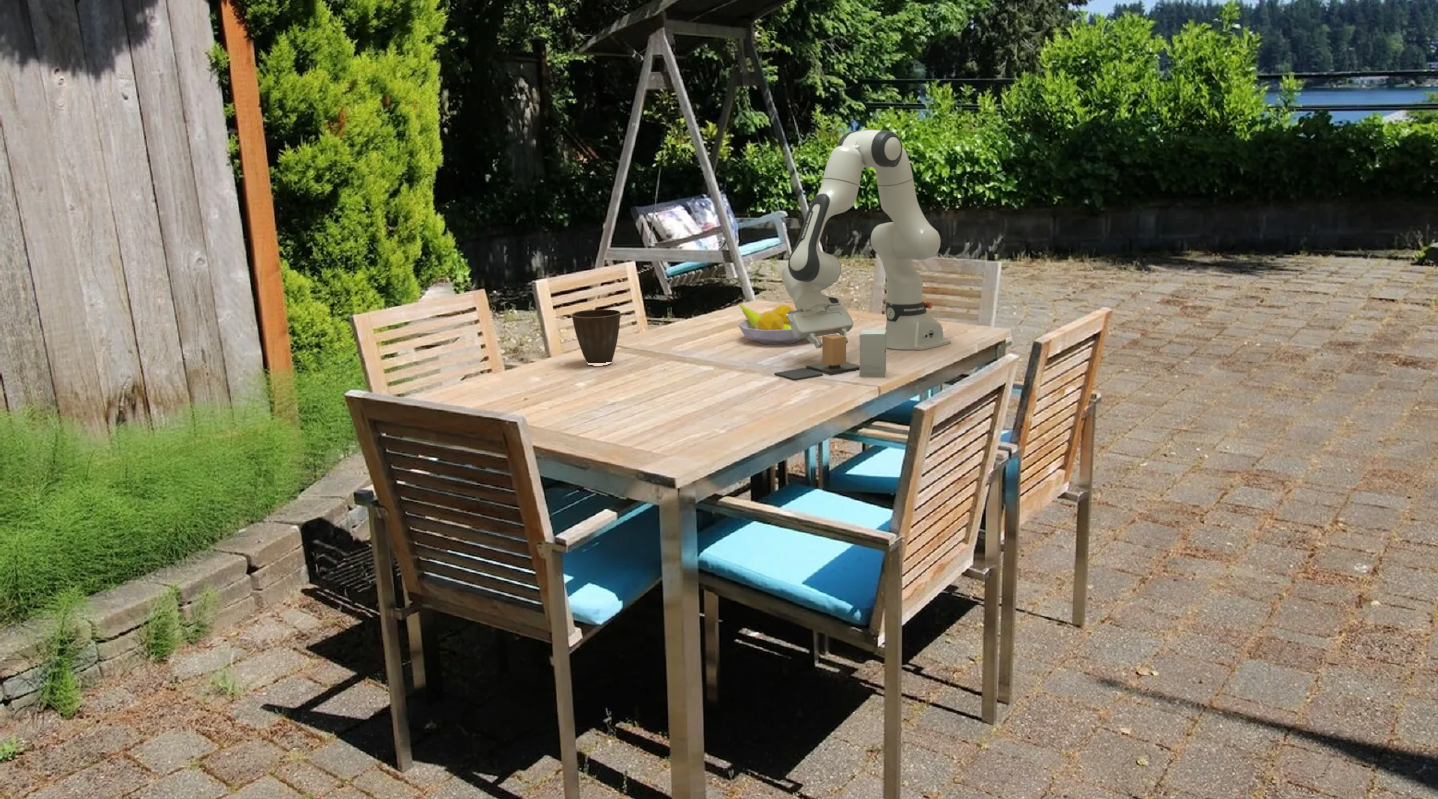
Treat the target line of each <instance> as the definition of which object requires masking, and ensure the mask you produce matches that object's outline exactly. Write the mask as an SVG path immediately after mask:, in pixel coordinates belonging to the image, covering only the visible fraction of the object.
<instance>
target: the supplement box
mask: <svg viewBox="0 0 1438 799" xmlns="http://www.w3.org/2000/svg"><path fill="white" fill-rule="evenodd" d="M859 365H860V370H859V378H885V376H886V372H887V348H886V330H885V329H861V330H860V333H859Z"/></svg>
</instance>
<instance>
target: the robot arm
mask: <svg viewBox="0 0 1438 799" xmlns="http://www.w3.org/2000/svg"><path fill="white" fill-rule="evenodd" d="M911 166H912V165H911V162H910V159H909V157H908V154H907V151H906V149H905V148H904V147H903V143H902V140H901V138H900V137H899V135H898V134H897V133H895V132H894V131H891V130H885V129H884V130H879V129H866V130H860V131H855V130H854V131H849V132H847V133H844V134H843V135H842V136H841V137H840V139H839V140H838V143H837V146H836V147H835V148H833V150H832V151H831V153H830V155H829V158H828V161H827V163H826V167H825V169H824V171H823V172H824V173H823V176H822V180H821V185H820V187H819V190H818V192H817V194H816V196H814V197H813V198H812V200H811V202H810V204H809V207H808V209H807V212H806V214H805V218H804V221H803V224H802V227H801V230H800V233H799V236H798V240H797V242H796V243H795V246H794V247H793V249H792V251H791V252H790V254H789V257H788V262H787V263H786V264H785V265H784V266H783V267H782V270H781V280H782V282H783V286H784V288H785V290H786V292H787V294H788V296H789V297H790V298H791V299H792V301H793V304H794V307H795V309H794V310H795V311H789V312H788V313H787V316H786V317H787V319H788V321H789V322H790V326H791V329H792V332H793V334H794V336H795V337H796V338H797V339H801V340H802V339H807V341H809V342H810V343H811V344H813V345H814V347H815V348H816V349H822V346H823V344H822V339H821V340H820V339H818V338H816V337H822V336H827V335H834V334H838V335H841V336H846V345H847V344H848V343H849V339H848V337H847V336H848V335H847V334H848V332H850V331H851V329H852V328H853V326H854V320H853V318H852V316H851V314H850V313H849V311H848V310H847V309H846V308H845V306H843V305H842V301H841V299H840V298H839V297H834V296H829V295H825V294H823V293H822V291H824V290H825V289H828V288H829V287H831V286H832V285H834V284H835V283H836V282H837V281H838V280H839V278H840V276H841V273H842V272H841V271H842V266H841V262H840V260H839V259H838V258H837V256H835V255H832V254H829V253H826V252H824V251H820V250H819V244H820V241H821V238H822V234H823V231H824V228H825V226H826V223H827V222H828V220H829V219H830V218H831V217H834V216H835V215H839V214H842V213H846V212H847V211H848V210H850V209H851V208H852V207H853V206H854V204H855V202H856V200H857V197H858V195H859V194H858V193H859V189H860V184H861V179H862V178H861V177H862V172H863V170H864V169H866V168H868V169H869V168H874V170H875V175H876V176H875V178H876V185H877V190H878V196H879V197H878V198H879V201H880V206H881V210H883V212H884V213H885V214H886V215H887V216H888V217H889V218H890V219H891V221H890V222H889V221H888V222H884V223H880V224H877V225H876V226H875V227H874V228H873V230H872V232H871V234H870V245H871V248H872V249H873V251H874V252H875V253H876V254H877V256H878V257H879V259H880V261H881V263H882V265H883V270H884V272H885V277H886V292H887V293H886V302H885V316H886V320H885V321H886V323H885V329H884V330H886V349H892V350H917V351H918V350H919V351H922V350H923V351H924V350H929V349H932V348H937V347H940V346H944V345H948V344H951V339H949V338H947V337H945V336H944V330H943V329H944V328H943V326H942V323H941V322H939V321H938V320H937V319H936V318H934V317H933V316H931V315H930V314H929V313H928V311H927V309H930V310H931V309H932V308H933V306H934V305H933V303H932V302H928V301H926V302H925V301H923V277H922V275H921V273H919V272H918V270H917V269H916V268H915V265H914V264H913V260H914V261H915V260H916V261H920V260H927V259H928V260H929V259H932V258H934V257H935V256H936V255H937V254H938V252H939V250H940V248H941V236H940V234H939V231H938V230H936V229H935V228H934V226H932V224H930V223H929V221H928V220H927V219H926V216H925V215H924V213H923V211H922V208H921V207H920V204H919V202H918V198H917V193H916V187H915V183H914V176H913V171H912V167H911Z"/></svg>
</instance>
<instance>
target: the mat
mask: <svg viewBox="0 0 1438 799" xmlns="http://www.w3.org/2000/svg"><path fill="white" fill-rule="evenodd" d="M774 376H777V377H781V378H784V379H786V380H787V379H788V380H791V381H794V382H796V381H800V380H802V381H803V380H807V379H813V378H818V377H823V376H824V373H820V372H816V371H813V370H809V369H806V368H803V367H800V368H795V369H788V370H782V371H777V372H774Z"/></svg>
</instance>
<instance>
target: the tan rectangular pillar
mask: <svg viewBox="0 0 1438 799" xmlns="http://www.w3.org/2000/svg"><path fill="white" fill-rule="evenodd" d="M846 337H847V335H846V336H842V335H840V334H838V333H836V334H830V335H823V336H821V343H822V344H823V346H822V347H821V354H822V361H821V363H825V364H828V365H832V366H834V365H839V364H845V363H846V362H847V344H846Z"/></svg>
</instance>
